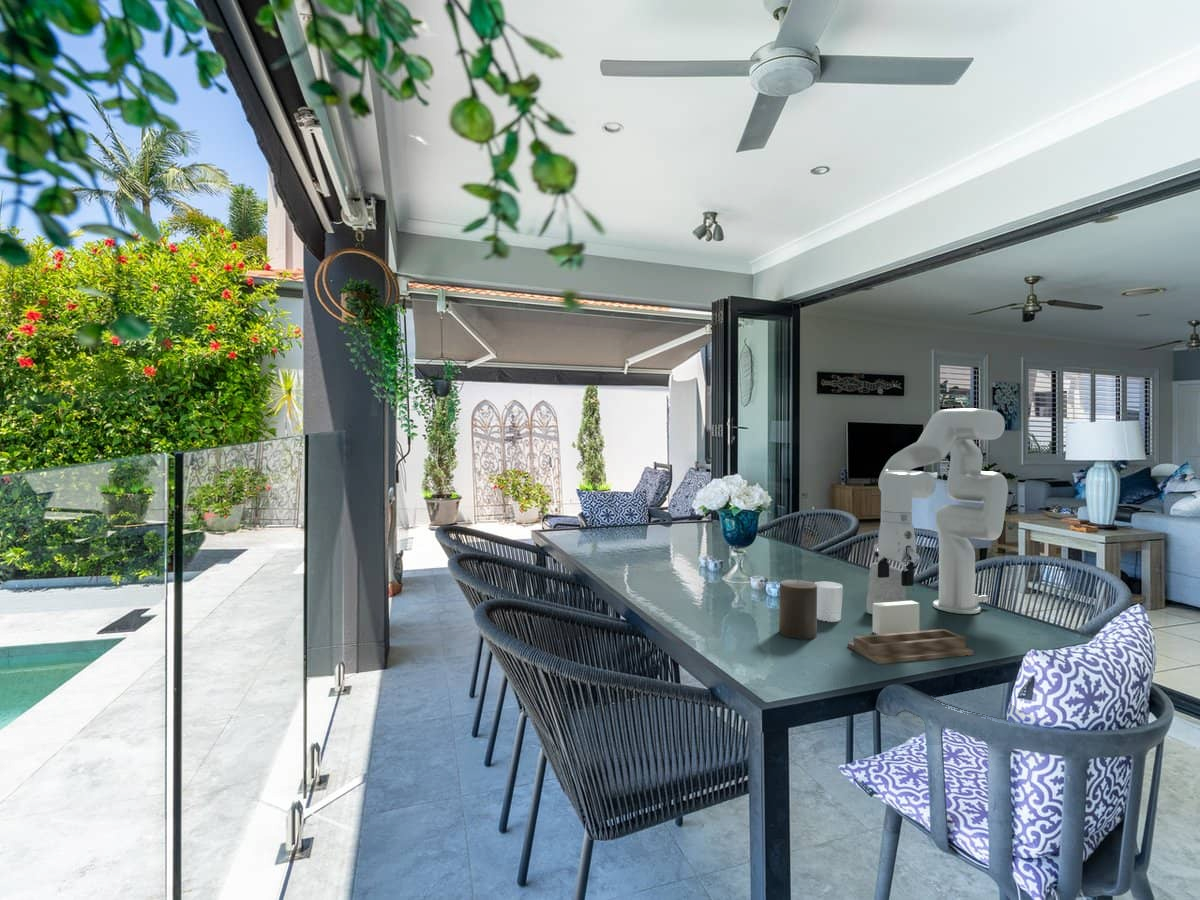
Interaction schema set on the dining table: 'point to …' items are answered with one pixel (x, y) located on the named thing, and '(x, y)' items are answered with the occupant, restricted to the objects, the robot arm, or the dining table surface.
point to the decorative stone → (884, 587)
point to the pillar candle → (798, 609)
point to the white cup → (829, 601)
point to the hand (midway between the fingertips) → (895, 581)
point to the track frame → (910, 646)
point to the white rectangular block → (895, 617)
